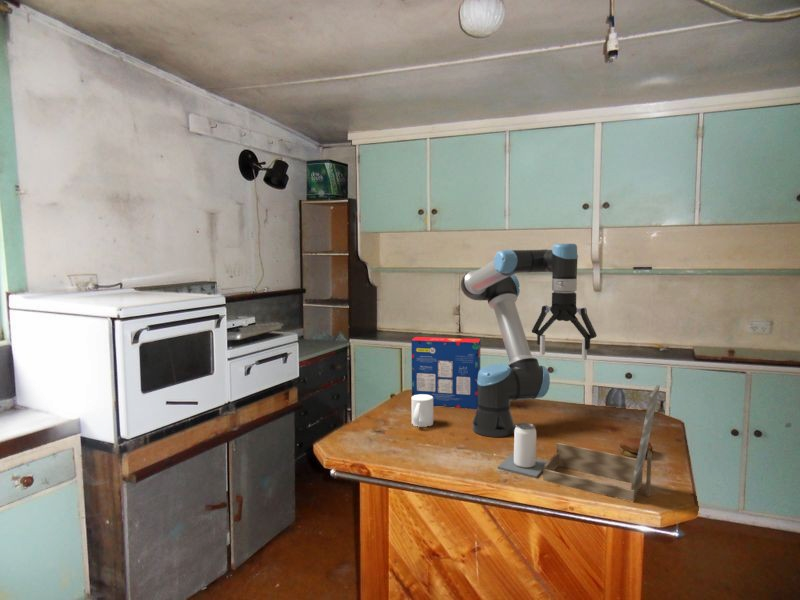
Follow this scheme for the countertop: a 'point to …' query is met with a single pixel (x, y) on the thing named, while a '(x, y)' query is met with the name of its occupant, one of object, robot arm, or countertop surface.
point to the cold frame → (605, 464)
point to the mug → (422, 410)
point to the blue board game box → (446, 370)
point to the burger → (632, 447)
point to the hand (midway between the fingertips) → (562, 357)
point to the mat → (532, 471)
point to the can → (525, 445)
